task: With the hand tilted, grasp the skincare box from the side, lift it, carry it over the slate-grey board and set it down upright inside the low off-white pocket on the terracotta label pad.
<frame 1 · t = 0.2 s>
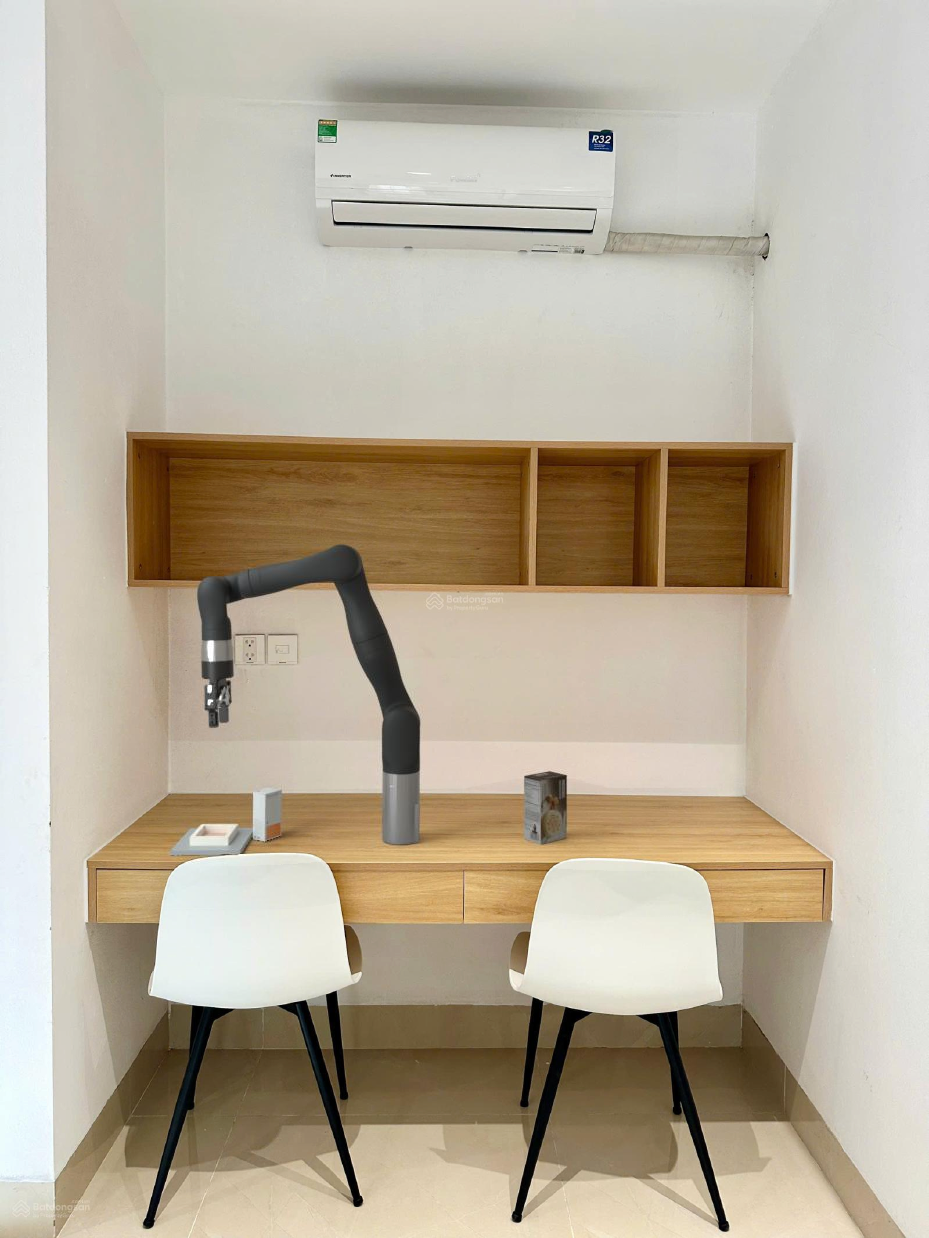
hand: (219, 725, 207), 28 cm above the table, tool pointing down, fingers open, 8 cm apart
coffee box: (545, 839, 212), on the table
board: (214, 843, 206), on the table
skincare box: (267, 839, 210), on the table
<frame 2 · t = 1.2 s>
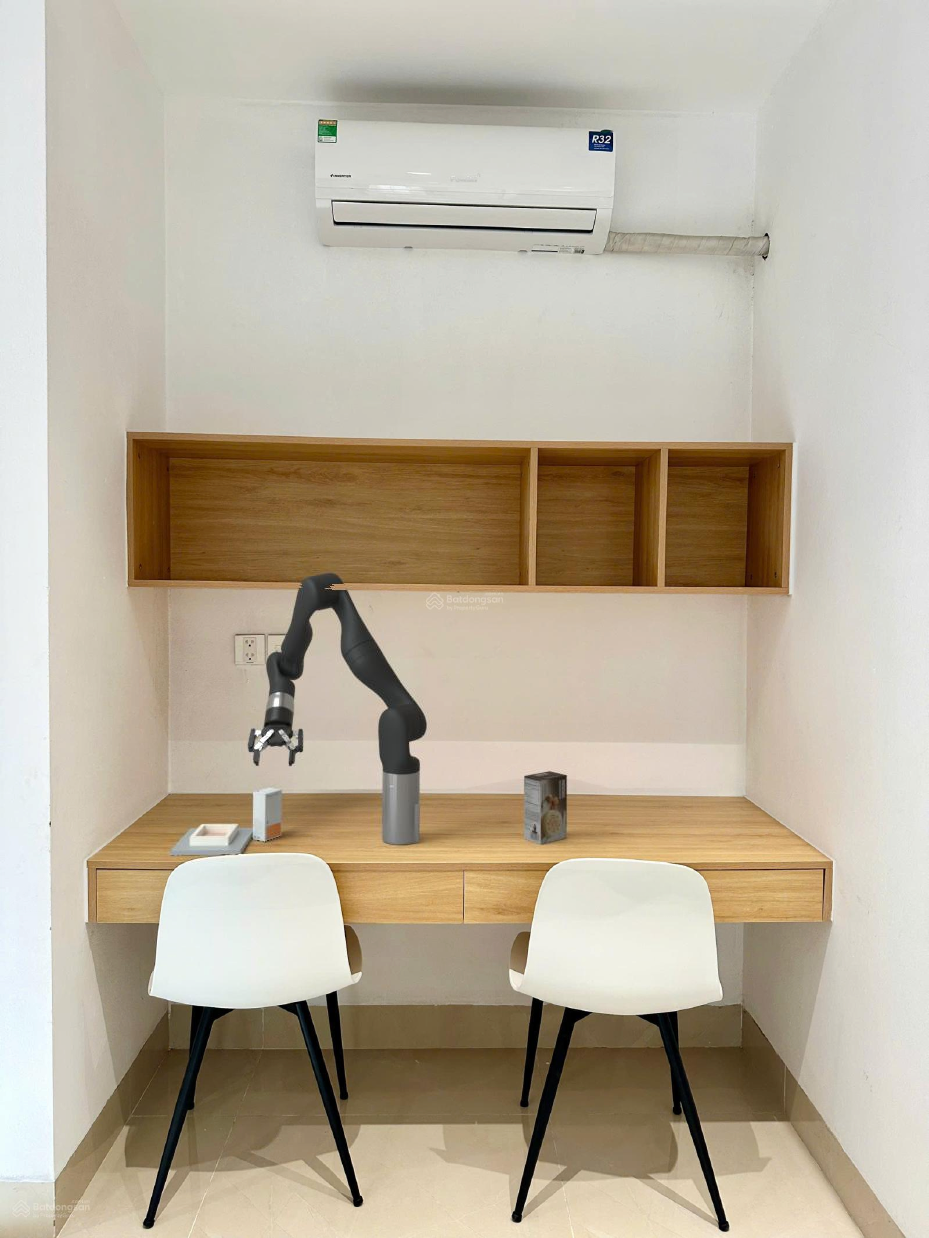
hand: (273, 764, 221), 16 cm above the table, tool tilted 45°, fingers open, 8 cm apart
nothing on the table moved.
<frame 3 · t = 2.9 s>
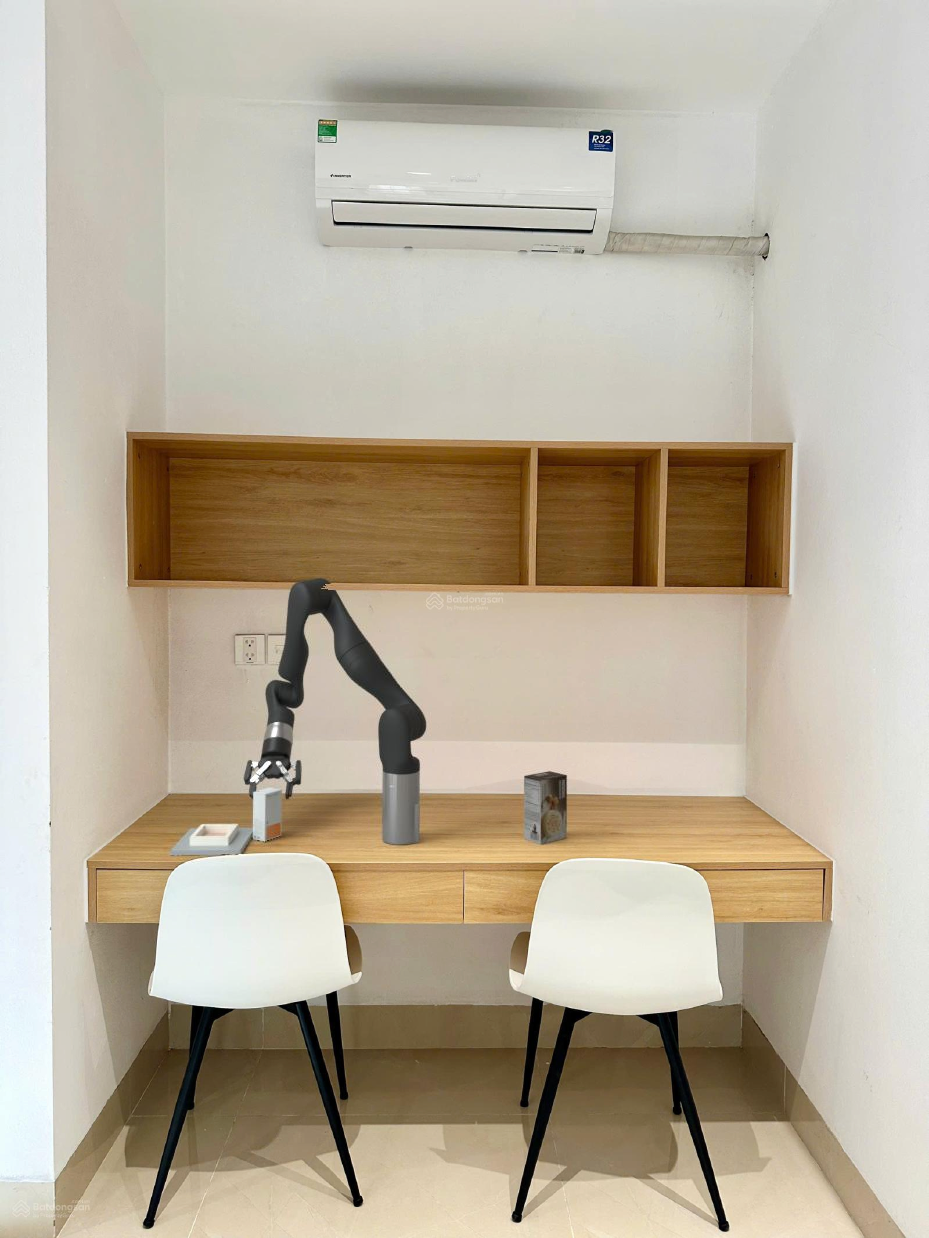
hand: (269, 797, 213), 9 cm above the table, tool tilted 45°, fingers open, 8 cm apart
nothing on the table moved.
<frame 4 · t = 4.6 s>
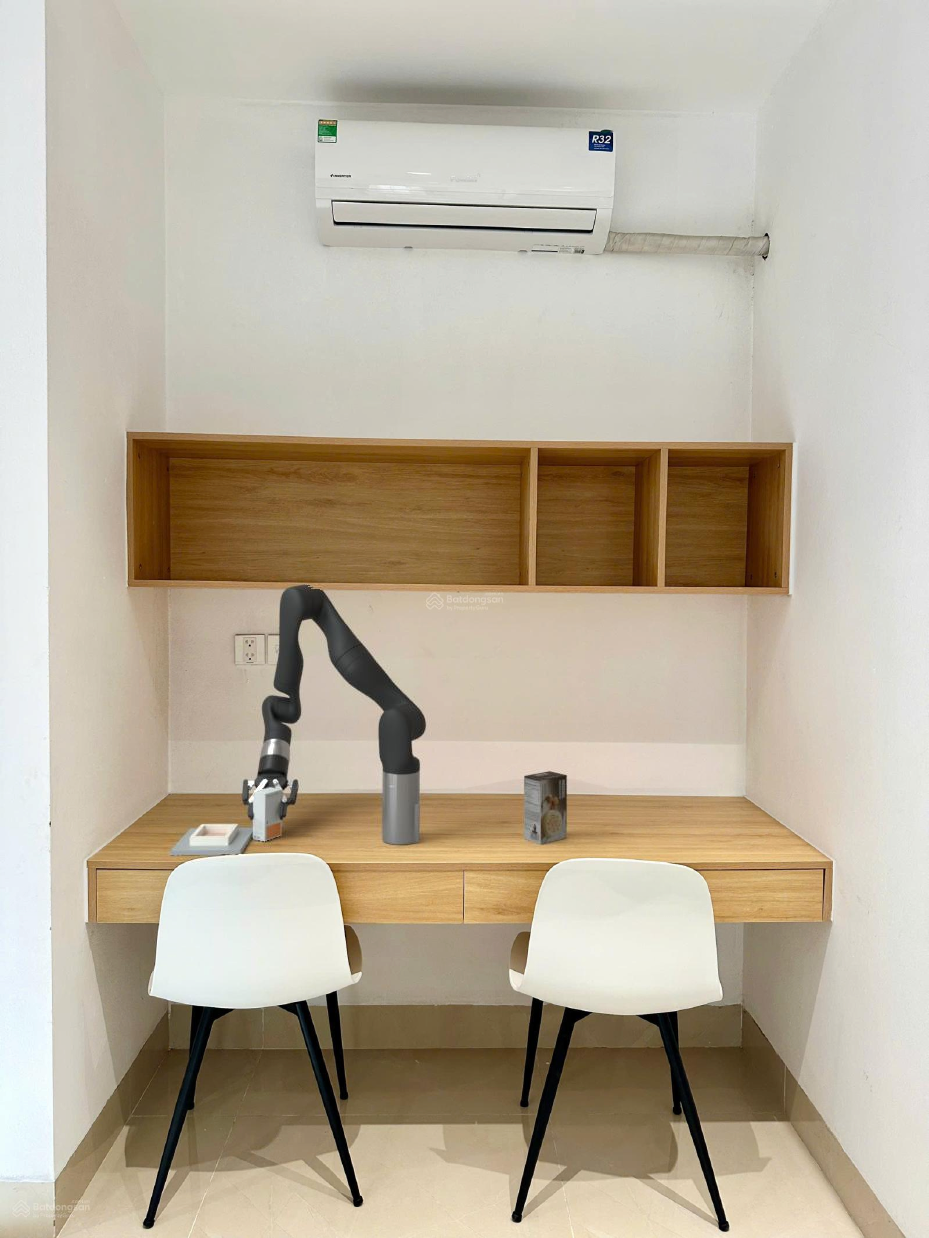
hand: (266, 818, 209), 5 cm above the table, tool tilted 45°, fingers closed on skincare box, 6 cm apart
skincare box: (267, 838, 210), on the table, touching gripper
everything else where it was.
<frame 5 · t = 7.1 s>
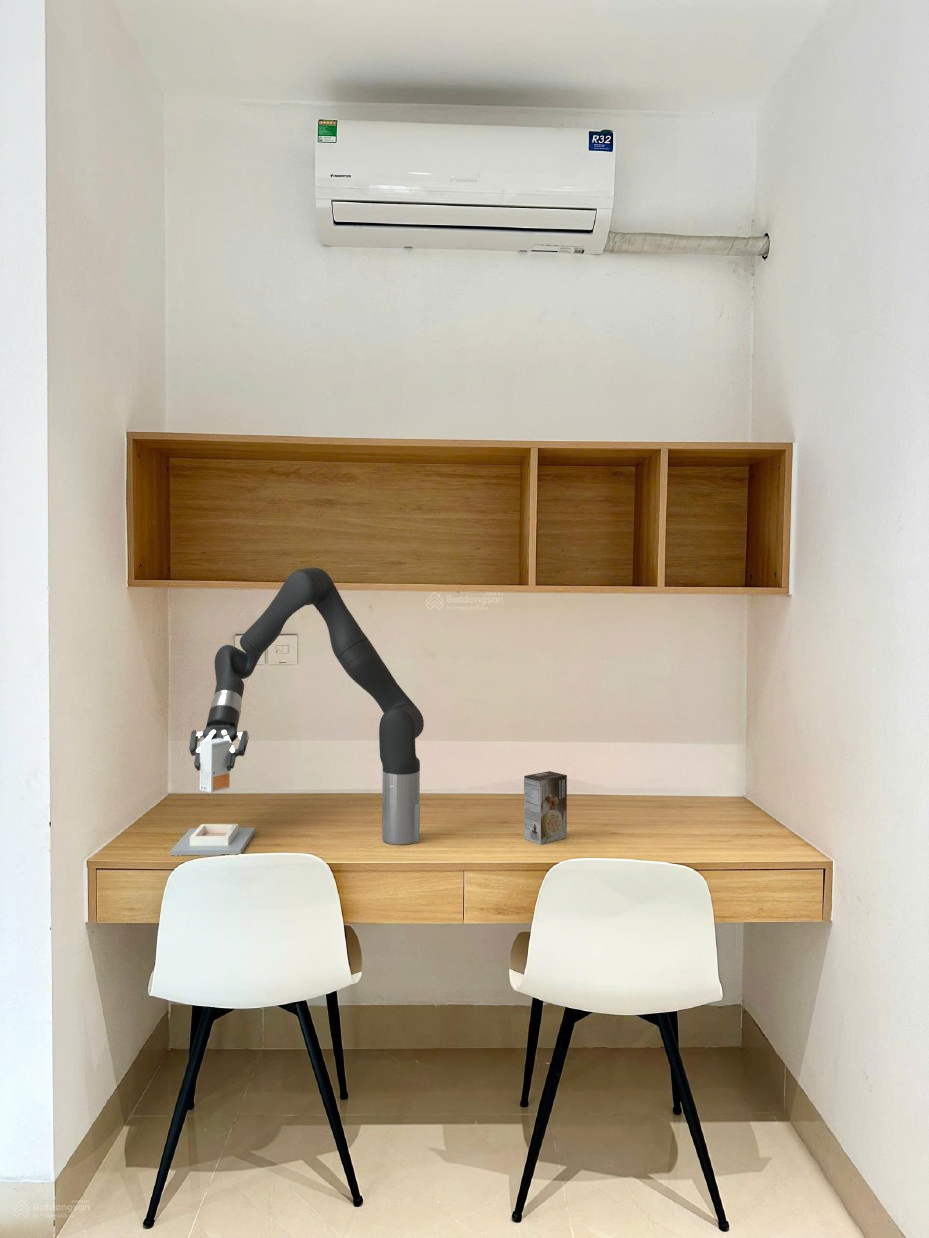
hand: (213, 768, 204), 18 cm above the table, tool tilted 45°, fingers closed on skincare box, 6 cm apart
skincare box: (215, 790, 206), point 13 cm above the table, touching gripper
everything else where it was.
when the fingers open (7 cm above the table, at t = 9.8 s): skincare box stays where it is, resting on board.
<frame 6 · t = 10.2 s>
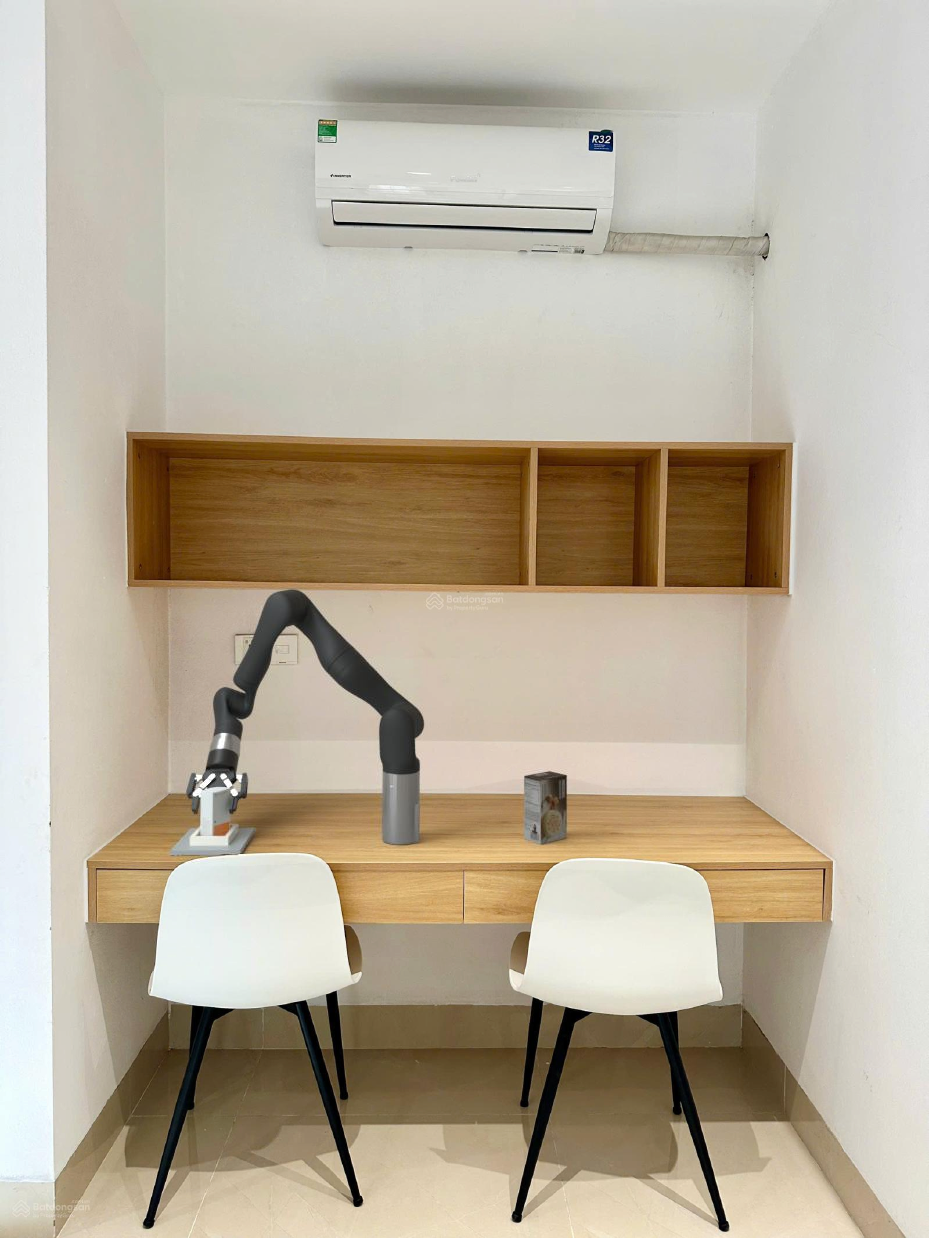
hand: (213, 812, 204), 8 cm above the table, tool tilted 45°, fingers open, 8 cm apart
skincare box: (215, 838, 206), point 1 cm above the table, touching board
everything else where it was.
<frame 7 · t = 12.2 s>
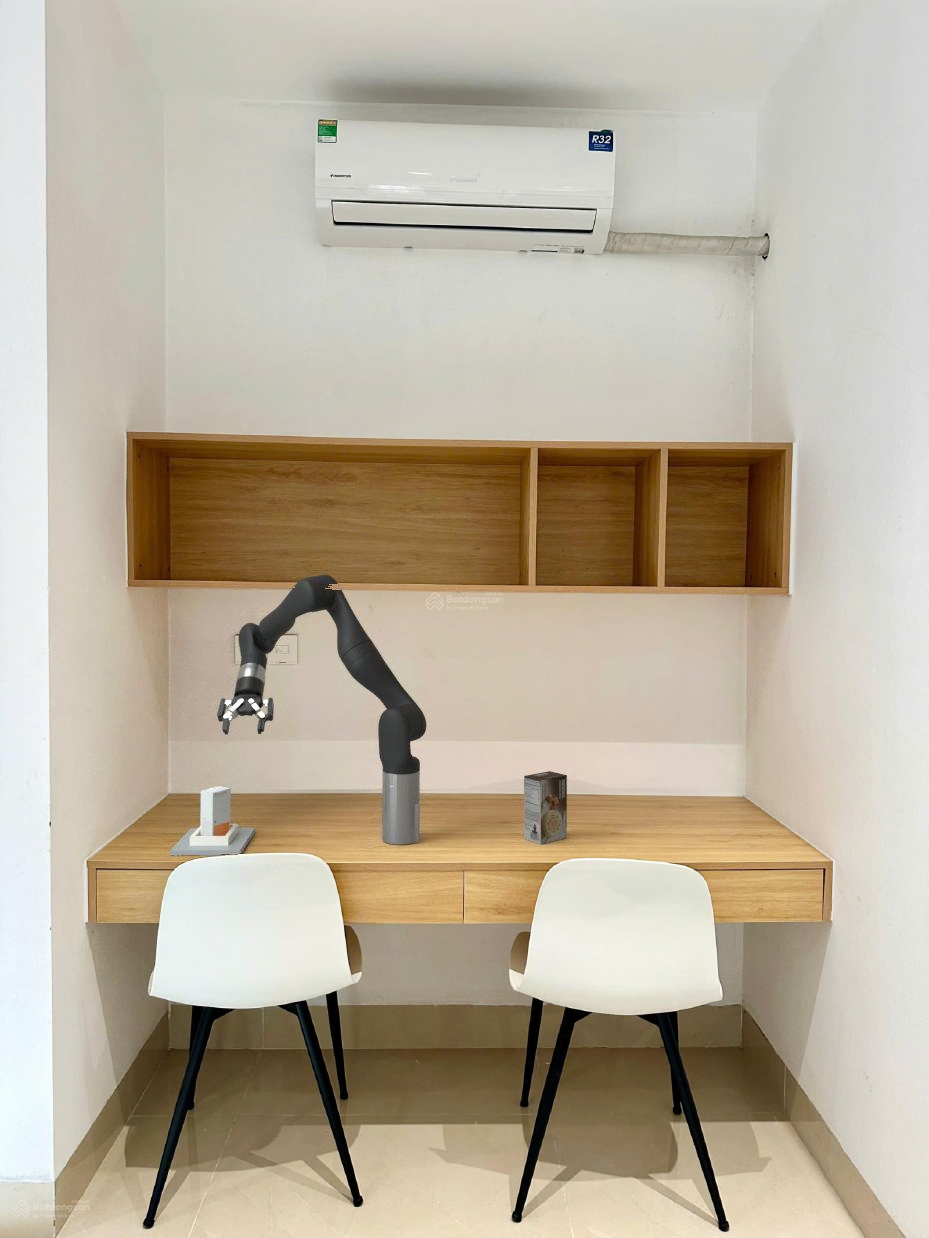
hand: (242, 732, 220), 24 cm above the table, tool tilted 45°, fingers open, 8 cm apart
nothing on the table moved.
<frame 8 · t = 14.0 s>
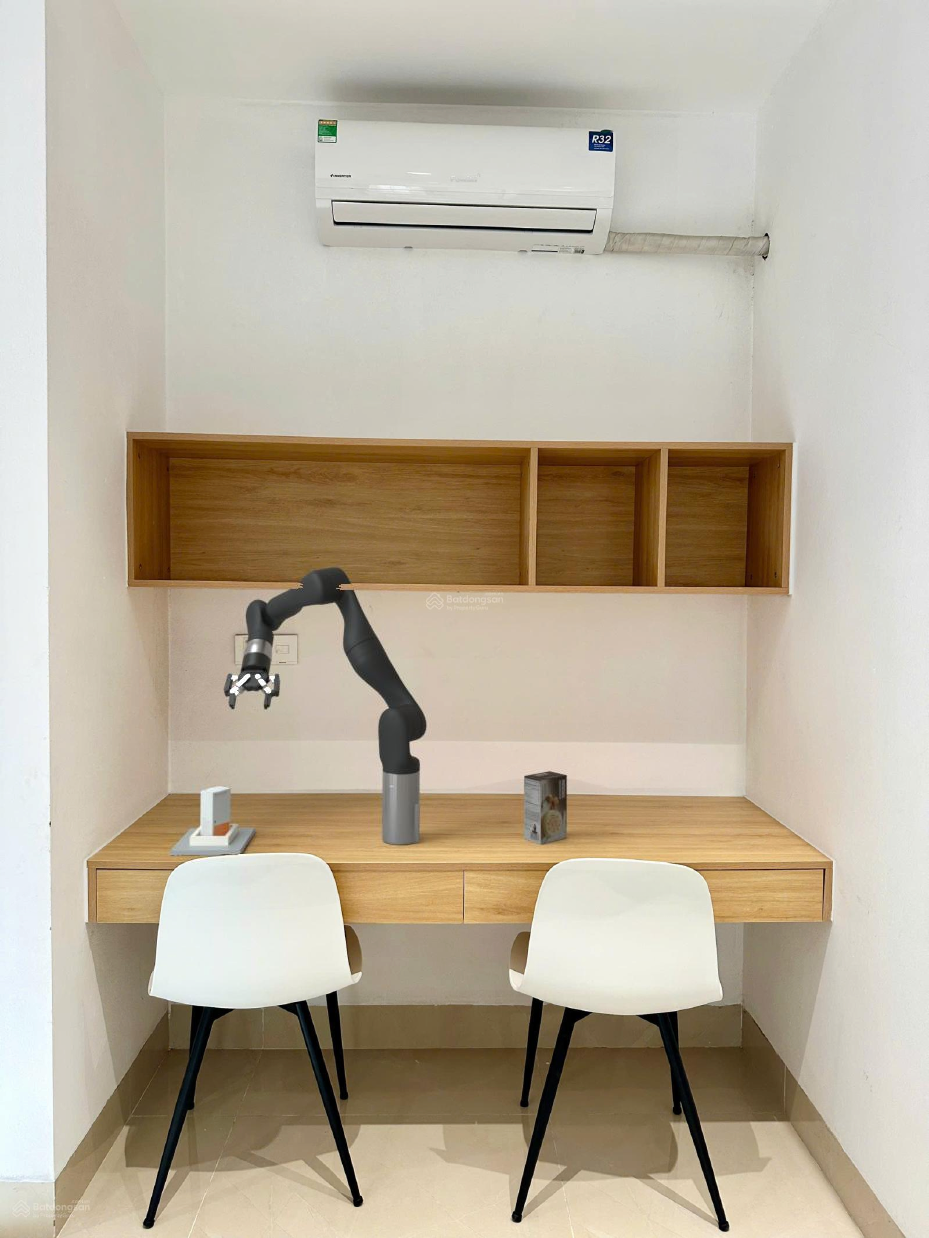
hand: (248, 707, 221), 31 cm above the table, tool tilted 45°, fingers open, 8 cm apart
nothing on the table moved.
at the end: skincare box inside the target area on the board (0.3 cm from its centre), point 1.1 cm above the board's base; skincare box tilted 0°; the gripper is holding nothing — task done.
